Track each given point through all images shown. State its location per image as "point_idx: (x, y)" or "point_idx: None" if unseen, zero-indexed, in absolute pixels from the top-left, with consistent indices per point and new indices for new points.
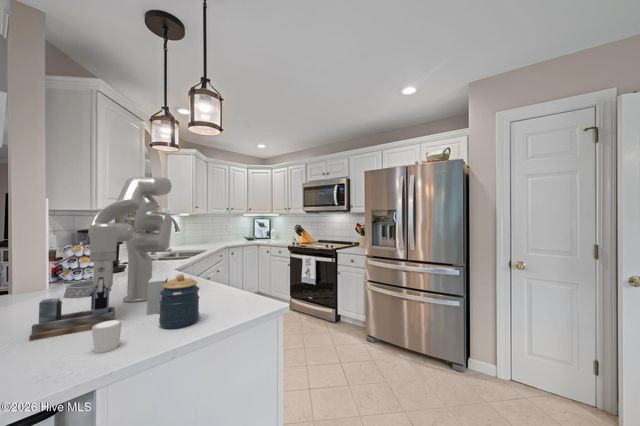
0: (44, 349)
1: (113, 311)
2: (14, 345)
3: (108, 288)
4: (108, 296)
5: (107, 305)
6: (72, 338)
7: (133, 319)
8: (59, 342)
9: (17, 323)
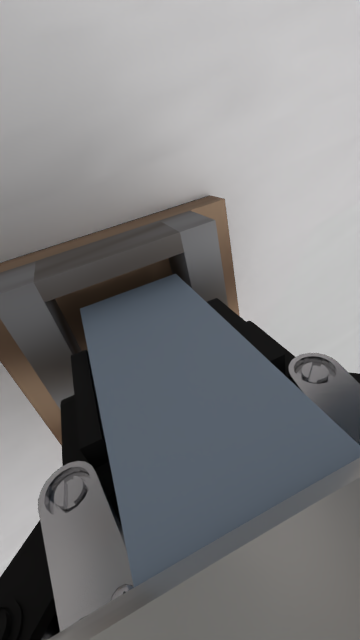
0: (342, 343)
1: (161, 237)
2: None
3: (335, 461)
4: (199, 370)
5: (204, 303)
6: (294, 313)
7: (113, 49)
8: (309, 335)
9: None
